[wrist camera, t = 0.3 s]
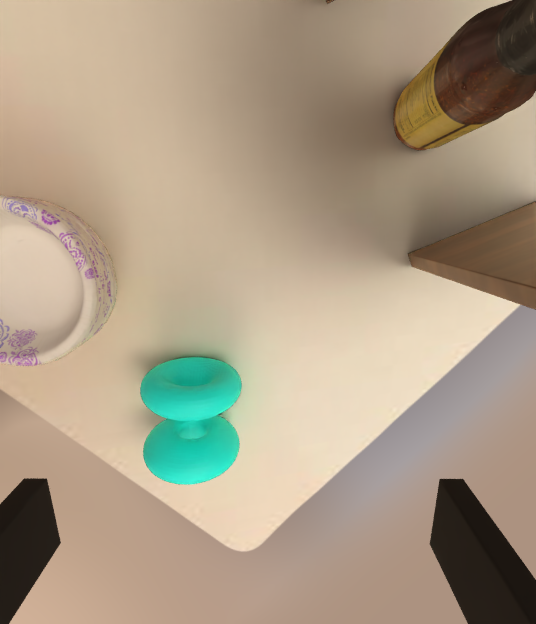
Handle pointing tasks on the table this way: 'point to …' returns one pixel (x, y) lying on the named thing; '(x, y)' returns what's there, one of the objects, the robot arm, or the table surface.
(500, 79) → the sauce bottle
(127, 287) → the table surface
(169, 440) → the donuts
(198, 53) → the table surface
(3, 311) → the paper bowls
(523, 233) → the shelf
